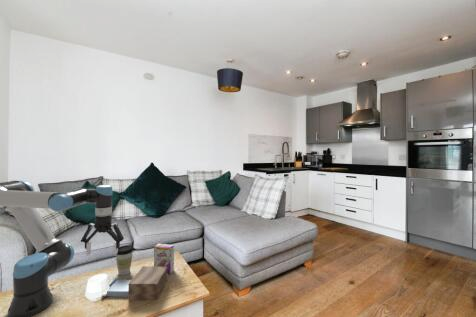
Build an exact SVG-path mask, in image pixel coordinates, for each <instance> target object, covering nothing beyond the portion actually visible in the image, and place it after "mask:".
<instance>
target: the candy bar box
mask: <svg viewBox="0 0 476 317" xmlns="http://www.w3.org/2000/svg"><path fill="white" fill-rule="evenodd" d="M153 252H154V254H153V257H154V258H153V266H157V267H167V275H171V274H172V273H173V271H175V270H174V269H175V245H174V244H169V243H168V244H166V243H157V244H156V245H154V248H153Z"/></svg>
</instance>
